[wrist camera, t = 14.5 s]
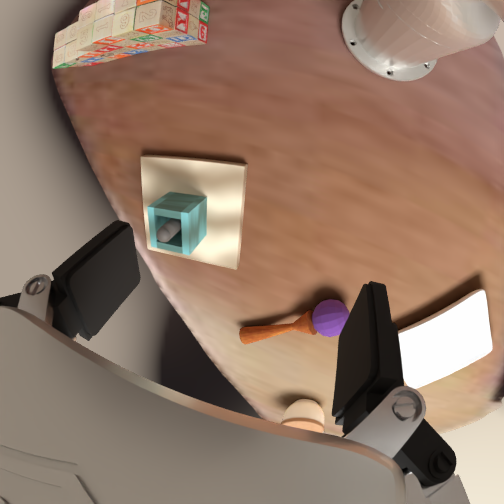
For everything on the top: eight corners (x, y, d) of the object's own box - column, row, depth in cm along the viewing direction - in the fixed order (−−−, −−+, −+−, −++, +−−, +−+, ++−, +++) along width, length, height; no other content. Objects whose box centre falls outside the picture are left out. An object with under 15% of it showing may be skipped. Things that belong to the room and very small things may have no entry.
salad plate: (409, 380, 49) (411, 392, 46) (376, 330, 44) (378, 344, 41) (489, 340, 39) (493, 352, 36) (477, 275, 34) (484, 287, 31)
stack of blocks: (93, 67, 31) (36, 70, 21) (95, 35, 28) (40, 32, 17) (208, 44, 27) (158, 24, 17) (211, 6, 24) (165, -25, 14)
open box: (169, 191, 38) (147, 206, 33) (207, 196, 37) (188, 213, 32) (171, 227, 41) (151, 246, 36) (206, 234, 40) (189, 255, 35)
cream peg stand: (146, 154, 37) (105, 171, 29) (247, 164, 35) (223, 183, 27) (152, 244, 46) (121, 274, 38) (239, 264, 43) (219, 302, 35)
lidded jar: (329, 396, 57) (326, 429, 49) (323, 414, 62) (319, 444, 54) (285, 392, 59) (278, 425, 52) (285, 410, 65) (278, 439, 57)
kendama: (230, 332, 46) (339, 308, 36) (244, 314, 52) (344, 288, 41) (245, 357, 48) (352, 339, 37) (257, 338, 53) (355, 317, 42)
